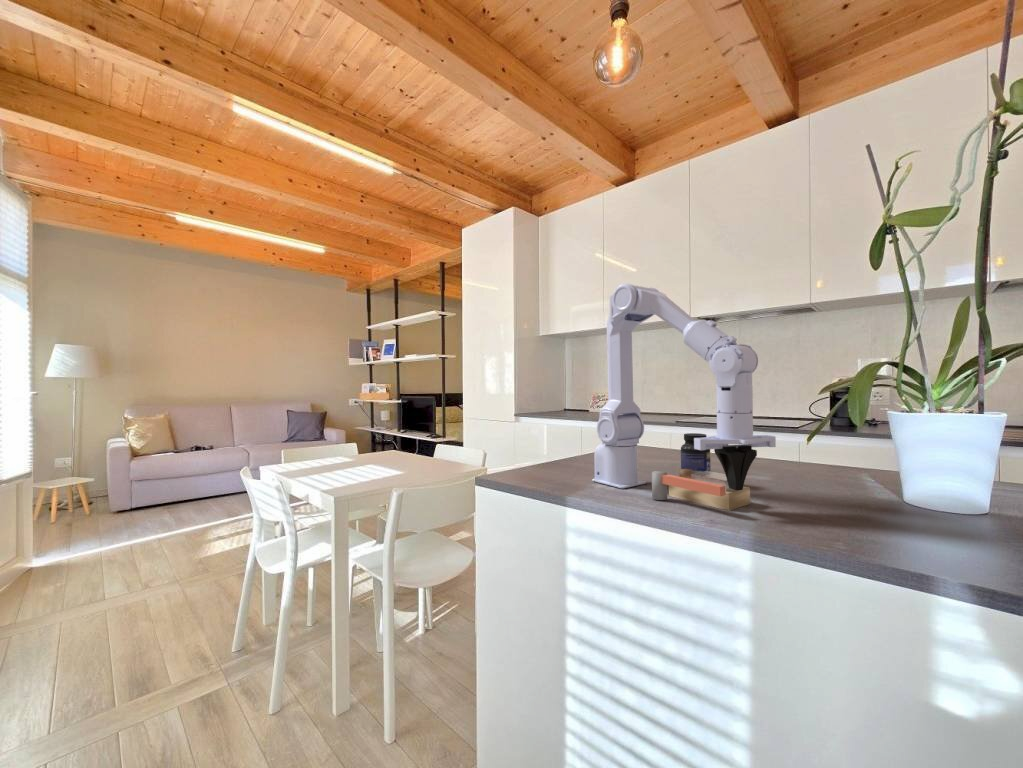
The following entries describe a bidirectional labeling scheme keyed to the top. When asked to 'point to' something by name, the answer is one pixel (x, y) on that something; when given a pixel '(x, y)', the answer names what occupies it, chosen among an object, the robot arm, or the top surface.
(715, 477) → the grey slanted block
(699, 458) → the pill bottle
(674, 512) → the top surface
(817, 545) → the top surface
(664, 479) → the hammer
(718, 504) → the body
